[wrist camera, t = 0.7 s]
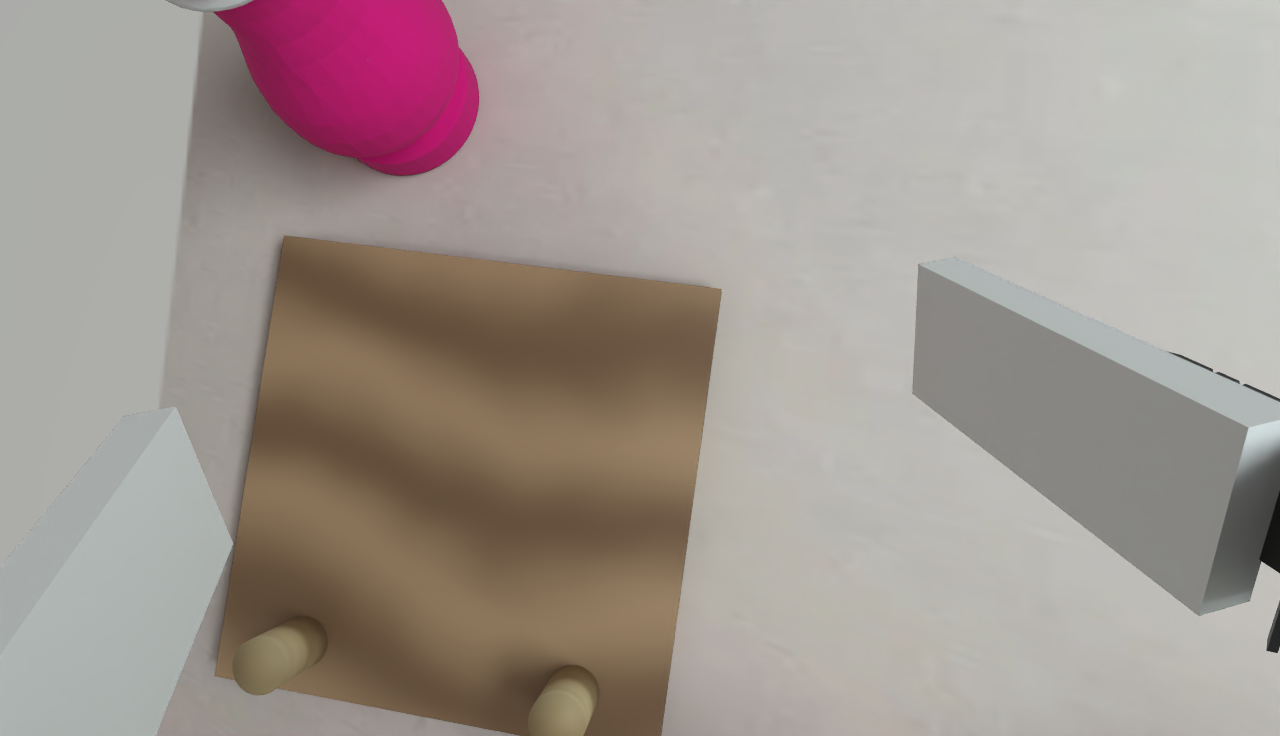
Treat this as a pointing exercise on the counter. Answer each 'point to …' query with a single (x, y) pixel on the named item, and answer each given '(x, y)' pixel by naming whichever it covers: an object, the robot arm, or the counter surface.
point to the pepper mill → (359, 75)
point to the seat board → (470, 489)
